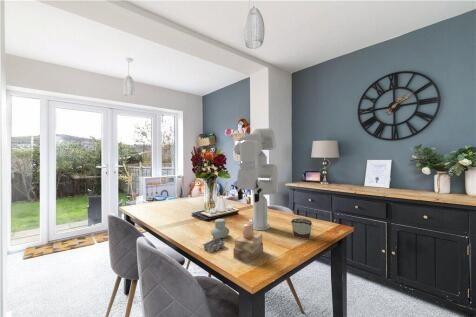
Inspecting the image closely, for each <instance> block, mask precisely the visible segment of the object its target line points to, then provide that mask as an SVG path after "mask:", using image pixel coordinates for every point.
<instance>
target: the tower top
mask: <svg viewBox="0 0 476 317" xmlns="http://www.w3.org/2000/svg"><path fill="white" fill-rule="evenodd" d="M262 243H263V233H258V232H253V238H252V239H245V238H243V233H242V234H241V235H240V236H238V237H237V238H236V239H234V248H235V250H240V251H245V252H250V253H253V252H254V251H255V250H256V249H257V248H258V247H259V246H260V245H261V244H262Z"/></svg>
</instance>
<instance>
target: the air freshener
mask: <svg viewBox="0 0 476 317" xmlns="http://www.w3.org/2000/svg"><path fill="white" fill-rule="evenodd" d="M229 234H230V228H229V227H227V226H226V220H225V219H224V218H218V219H215V220H214V227H213V228H211V230H210V235H211V236H212V237H213V238H216V237H218V238H220V239H225V238H227V237H228V235H229Z"/></svg>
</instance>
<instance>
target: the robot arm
mask: <svg viewBox="0 0 476 317" xmlns="http://www.w3.org/2000/svg"><path fill="white" fill-rule="evenodd" d="M276 147H277V140H276V133H275V132H274V130H273V129H272V128H267V127H265V128H263V127H262V128H255V129H253V130H252V131H251V133H249V134H248V135H244V136H241V137H239V138H237V139H236V141H235V142H234V145H233V151H234V153H235V155H237V156H239V163H238V166H239V168H238V171H237V178H236V179H237V180H235V181H234V182H233V187H234V189H235V190H236V192H237V200H238V201H241V200H243V198H244V196H243V194H244V192H243V190H248V191H250V190H251V191H252V192H251V193H252V217H253V218H249V220H248V223H251V224H253V230H256V231H267V230H269V229H270V228H271V227H270V226H271V225H270V224H269V223H268V222H269V221H268V219H269V218H268V216H269V215H268V199H267V198H266V197H265V195H267V196H268V195H269V196H271V195H272V196H275V195H277V194H278V192H279V168H278V166H277V165H276V164H275V163H268V160H267V159H268V157H267V155H266V153H265V152H264V151H273V150H274V149H275V148H276Z"/></svg>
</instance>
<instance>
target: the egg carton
mask: <svg viewBox="0 0 476 317" xmlns="http://www.w3.org/2000/svg"><path fill="white" fill-rule="evenodd" d="M202 245H203V250H204V251H206V250H207V252H209V253H210V252H211V253H212V252H213V253H214V252H215V250H216V251H218V250H220V248H221V249H223V248H225V241H224V240H222V238H218V237H216V238H215V237H213V239H211V240H209V241H206V243H203V244H202Z"/></svg>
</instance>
